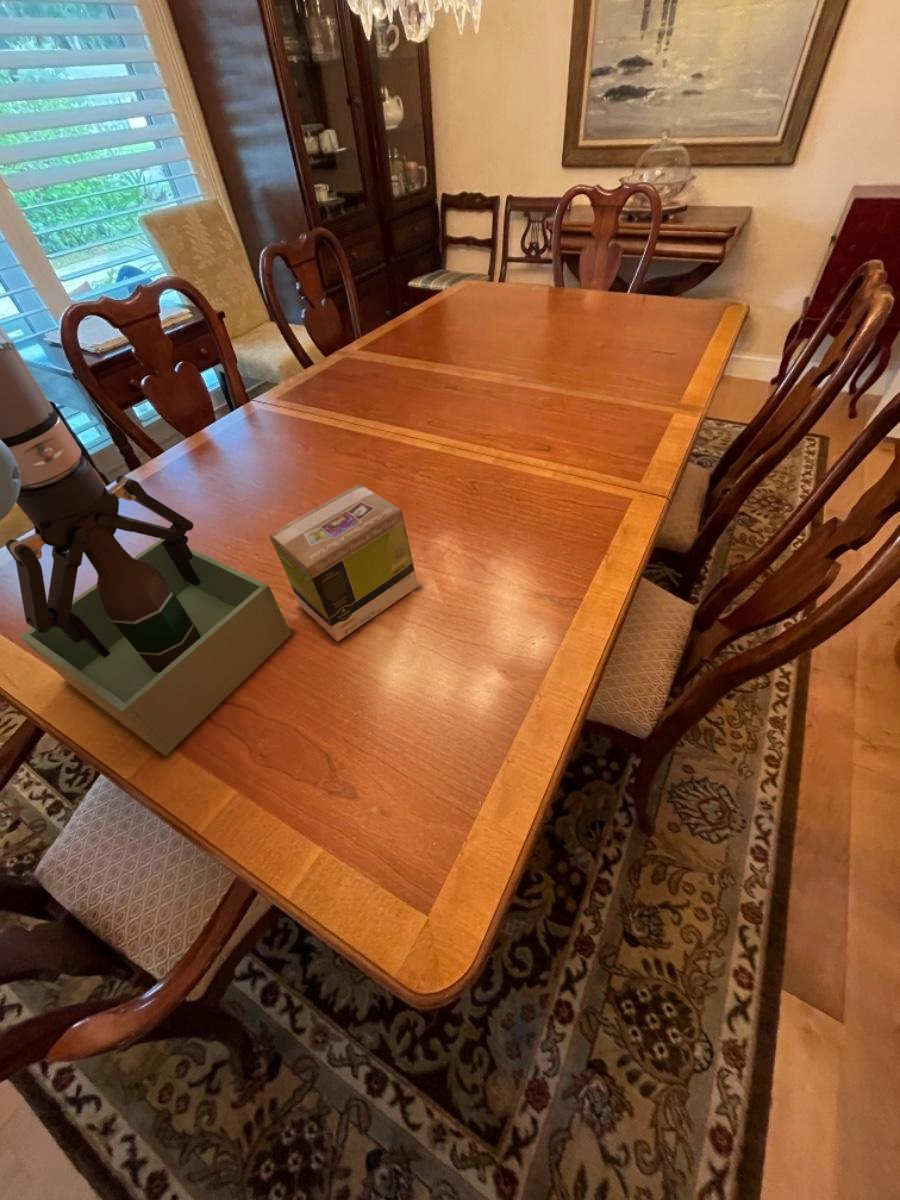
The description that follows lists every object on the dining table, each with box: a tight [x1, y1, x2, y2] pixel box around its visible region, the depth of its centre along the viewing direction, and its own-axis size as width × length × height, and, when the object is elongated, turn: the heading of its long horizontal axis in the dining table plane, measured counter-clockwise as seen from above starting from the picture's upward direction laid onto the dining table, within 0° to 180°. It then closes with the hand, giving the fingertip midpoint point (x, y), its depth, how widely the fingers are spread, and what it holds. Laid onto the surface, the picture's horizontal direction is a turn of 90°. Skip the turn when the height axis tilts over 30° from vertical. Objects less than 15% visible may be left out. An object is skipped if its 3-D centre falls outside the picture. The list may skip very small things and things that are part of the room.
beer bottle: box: [74, 512, 201, 673], centre depth 65 cm, size 8×8×24 cm
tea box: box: [268, 483, 419, 642], centre depth 74 cm, size 15×10×15 cm, turn 132°
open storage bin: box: [19, 538, 292, 757], centre depth 71 cm, size 22×22×10 cm
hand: (149, 614), depth 68 cm, fingers open, 13 cm apart
